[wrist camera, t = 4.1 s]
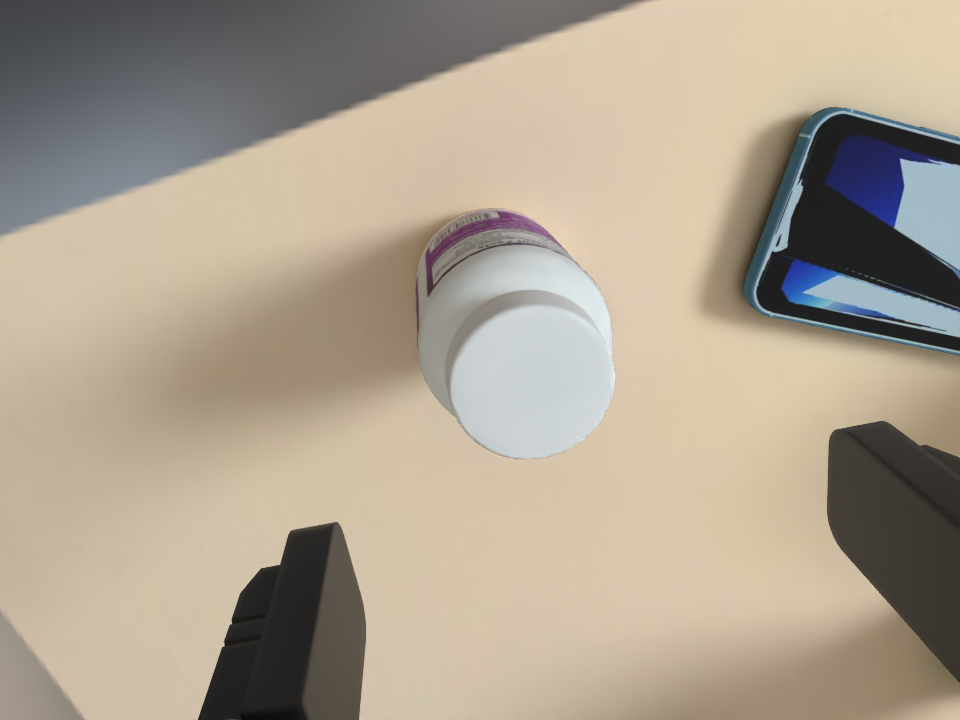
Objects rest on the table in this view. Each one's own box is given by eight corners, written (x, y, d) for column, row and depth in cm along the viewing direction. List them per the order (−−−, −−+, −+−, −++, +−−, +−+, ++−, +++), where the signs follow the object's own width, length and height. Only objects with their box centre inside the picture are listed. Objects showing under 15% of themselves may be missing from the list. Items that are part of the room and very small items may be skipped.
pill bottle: (542, 361, 27) (607, 503, 18) (402, 335, 26) (398, 471, 17) (581, 221, 25) (675, 303, 16) (433, 188, 24) (446, 255, 15)
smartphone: (1081, 381, 29) (742, 312, 26) (1061, 372, 29) (730, 304, 27) (1186, 198, 26) (823, 99, 23) (1160, 193, 27) (807, 98, 24)
